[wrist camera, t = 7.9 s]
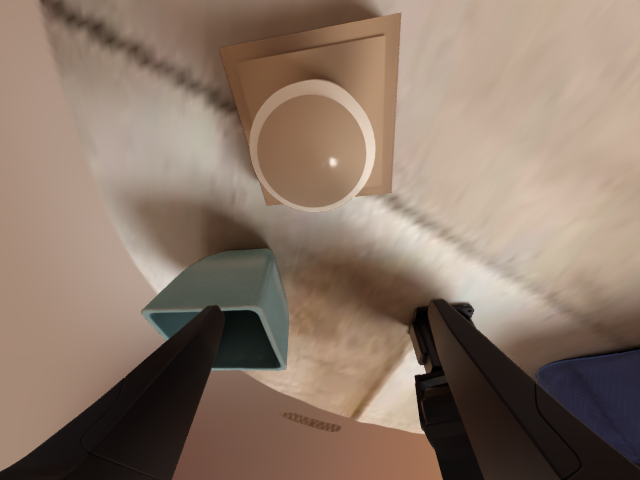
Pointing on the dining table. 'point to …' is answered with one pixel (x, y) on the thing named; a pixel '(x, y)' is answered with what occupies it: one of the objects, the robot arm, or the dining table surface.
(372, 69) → the stand
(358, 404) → the dining table surface
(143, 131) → the dining table surface
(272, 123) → the jar
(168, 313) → the flower pot
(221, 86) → the dining table surface
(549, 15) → the dining table surface
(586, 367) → the lunch bag
